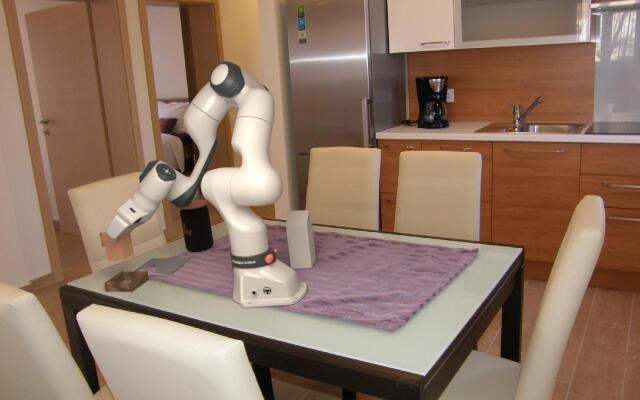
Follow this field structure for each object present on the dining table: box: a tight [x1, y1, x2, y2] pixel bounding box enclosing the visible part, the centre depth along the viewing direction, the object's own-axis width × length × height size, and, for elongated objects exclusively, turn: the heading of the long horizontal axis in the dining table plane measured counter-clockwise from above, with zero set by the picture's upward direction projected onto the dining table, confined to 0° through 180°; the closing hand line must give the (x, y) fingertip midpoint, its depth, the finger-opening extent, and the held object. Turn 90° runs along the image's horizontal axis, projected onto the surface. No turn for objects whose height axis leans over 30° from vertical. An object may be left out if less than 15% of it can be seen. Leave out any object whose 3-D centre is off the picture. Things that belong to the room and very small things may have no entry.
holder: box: [103, 270, 150, 293], centre depth 192 cm, size 10×10×3 cm
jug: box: [99, 231, 135, 262], centre depth 188 cm, size 9×6×9 cm, turn 76°
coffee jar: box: [179, 199, 214, 253], centre depth 221 cm, size 11×11×18 cm
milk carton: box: [285, 209, 317, 270], centre depth 192 cm, size 7×7×19 cm
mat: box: [133, 257, 191, 276], centre depth 206 cm, size 16×16×1 cm
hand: (119, 237), depth 187 cm, fingers closed on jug, 6 cm apart
